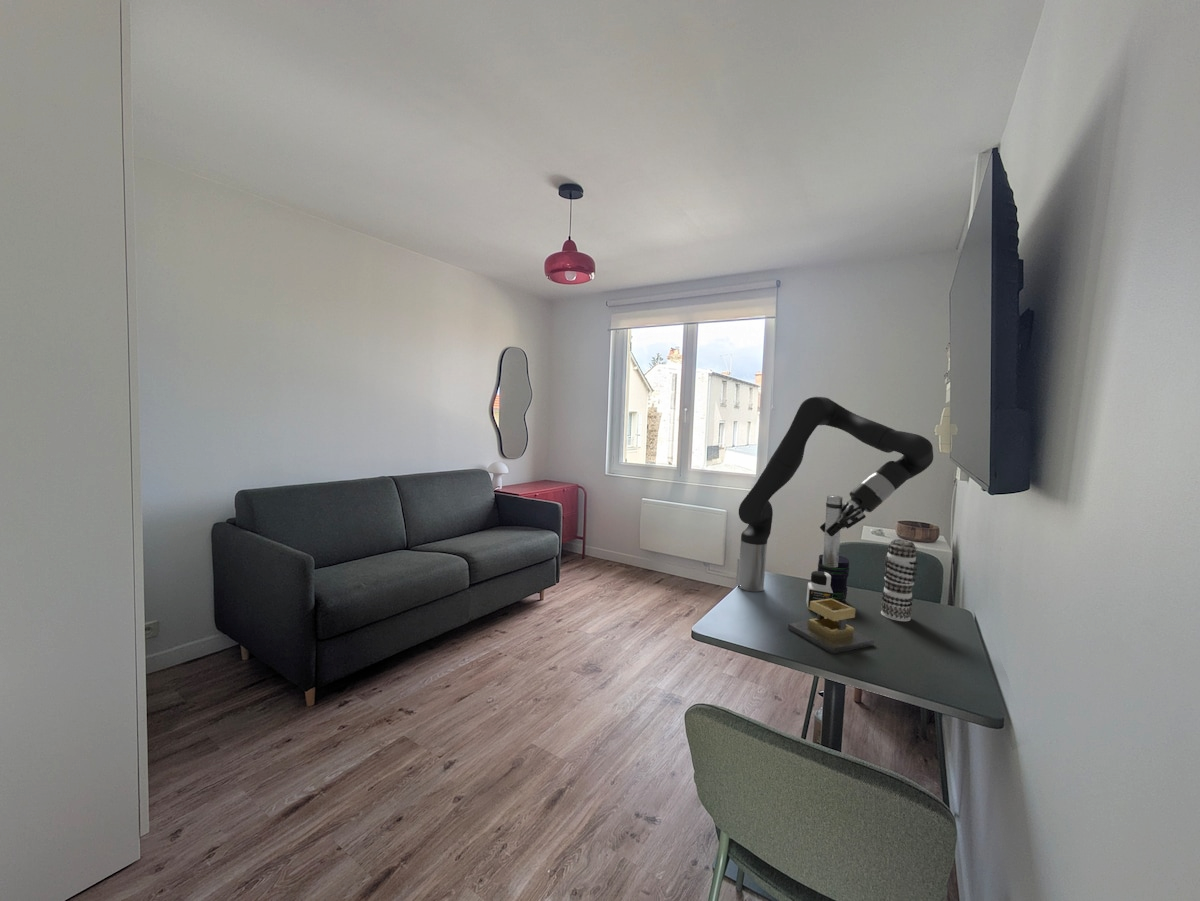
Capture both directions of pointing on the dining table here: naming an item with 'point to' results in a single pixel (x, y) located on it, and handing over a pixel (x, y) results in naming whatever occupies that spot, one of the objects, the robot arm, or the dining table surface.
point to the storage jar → (837, 577)
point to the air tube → (833, 541)
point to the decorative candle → (899, 580)
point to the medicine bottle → (819, 587)
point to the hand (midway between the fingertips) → (825, 531)
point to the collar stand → (831, 627)
